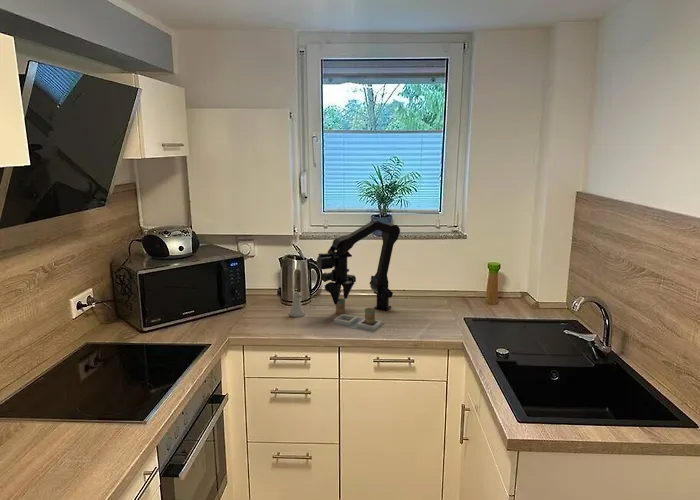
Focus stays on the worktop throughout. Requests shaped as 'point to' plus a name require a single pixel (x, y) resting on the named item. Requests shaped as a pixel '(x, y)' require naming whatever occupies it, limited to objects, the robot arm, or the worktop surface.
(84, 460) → the worktop surface
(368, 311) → the seated sleeve
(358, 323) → the socket board
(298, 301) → the flask
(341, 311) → the sleeve
